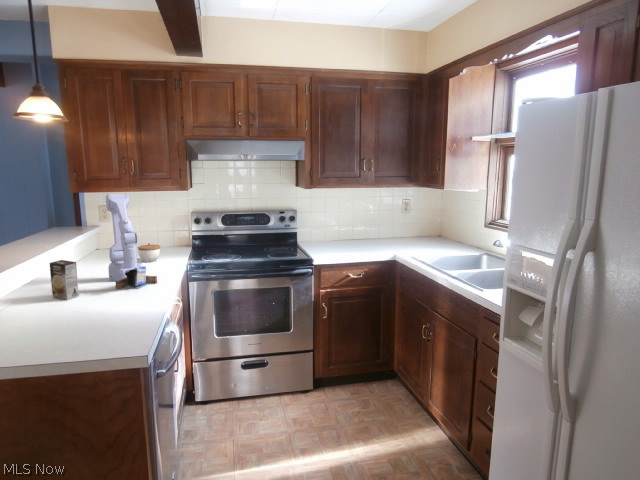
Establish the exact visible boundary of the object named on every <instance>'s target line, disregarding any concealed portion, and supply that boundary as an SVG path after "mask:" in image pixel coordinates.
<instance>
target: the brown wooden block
mask: <svg viewBox="0 0 640 480" xmlns="http://www.w3.org/2000/svg"><path fill="white" fill-rule="evenodd" d="M146 283H150V284H151V285H153V284H154V285H157V284H158V276H157V275H146ZM128 286H129V285H128V279H127V277H126V278H123V279H121V280H119V281H115V289H116V290H120V289H122V288H124V287H128Z"/></svg>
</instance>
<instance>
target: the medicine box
mask: <svg viewBox="0 0 640 480" xmlns="http://www.w3.org/2000/svg"><path fill="white" fill-rule="evenodd" d="M135 270H137V271H138V273H137V275H136V278H135V285H134V286H138V285H142V284H146V276H147V267H146V266H143V265H142V267H139V268H138V269H135Z"/></svg>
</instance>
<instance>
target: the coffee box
mask: <svg viewBox="0 0 640 480" xmlns="http://www.w3.org/2000/svg"><path fill="white" fill-rule="evenodd" d="M49 271H50V284H51V293H52V294H51V295H52V296H51V297H52V298H53V299H58V300H65V301H70V300H72V299H76V298H78V297H80V295H79V285H78V284H79V283H78V282H79V281H78V269H77V261H71V260H64V259H60V260H57V261H51V262H49Z"/></svg>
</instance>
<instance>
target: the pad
mask: <svg viewBox="0 0 640 480" xmlns="http://www.w3.org/2000/svg"><path fill="white" fill-rule="evenodd" d="M149 284H151V283H146V284H142V285H138V286H129V285H127V286H125V288H124V289H133V290H134V289H135V290H138V289H142V288H143V287H145V286H148V285H149Z"/></svg>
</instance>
